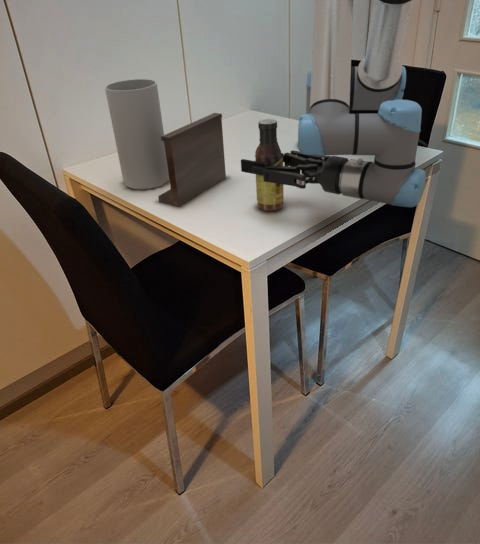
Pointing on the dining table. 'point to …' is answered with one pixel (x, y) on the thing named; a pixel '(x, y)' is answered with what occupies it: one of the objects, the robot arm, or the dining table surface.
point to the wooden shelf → (194, 159)
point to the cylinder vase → (138, 132)
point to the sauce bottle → (268, 152)
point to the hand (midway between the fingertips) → (250, 160)
